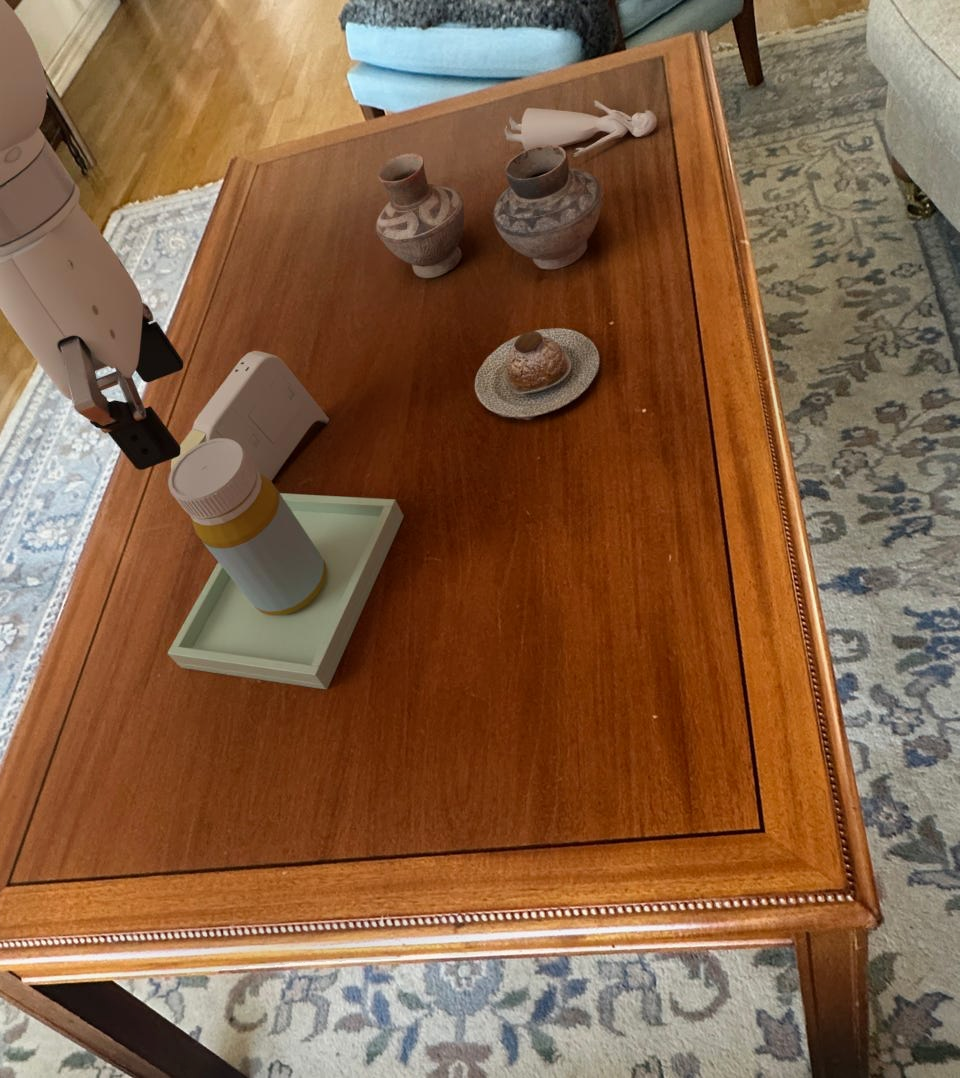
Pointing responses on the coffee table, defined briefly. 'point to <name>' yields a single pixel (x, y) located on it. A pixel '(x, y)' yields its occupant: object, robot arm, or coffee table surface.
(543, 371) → the pastry
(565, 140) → the woman figurine
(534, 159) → the pottery
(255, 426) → the light grey boxy piece
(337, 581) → the tray
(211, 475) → the bottle
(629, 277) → the coffee table surface
